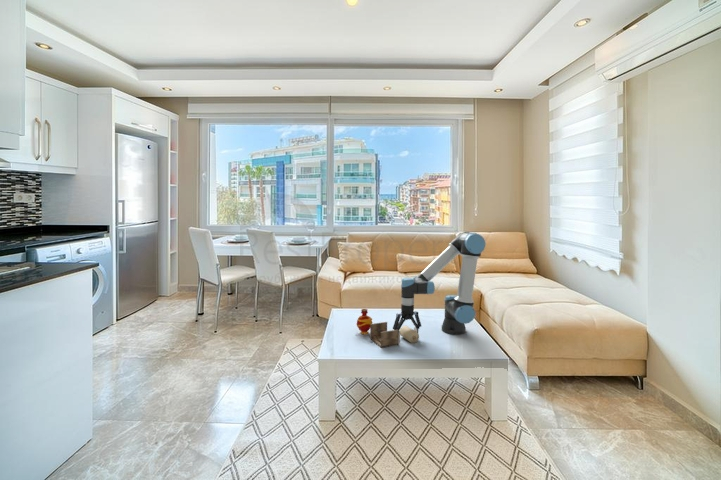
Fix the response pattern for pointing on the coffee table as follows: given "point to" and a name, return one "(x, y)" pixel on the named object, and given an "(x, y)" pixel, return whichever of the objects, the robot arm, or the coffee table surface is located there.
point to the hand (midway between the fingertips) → (407, 339)
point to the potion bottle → (364, 322)
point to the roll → (409, 334)
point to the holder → (383, 335)
